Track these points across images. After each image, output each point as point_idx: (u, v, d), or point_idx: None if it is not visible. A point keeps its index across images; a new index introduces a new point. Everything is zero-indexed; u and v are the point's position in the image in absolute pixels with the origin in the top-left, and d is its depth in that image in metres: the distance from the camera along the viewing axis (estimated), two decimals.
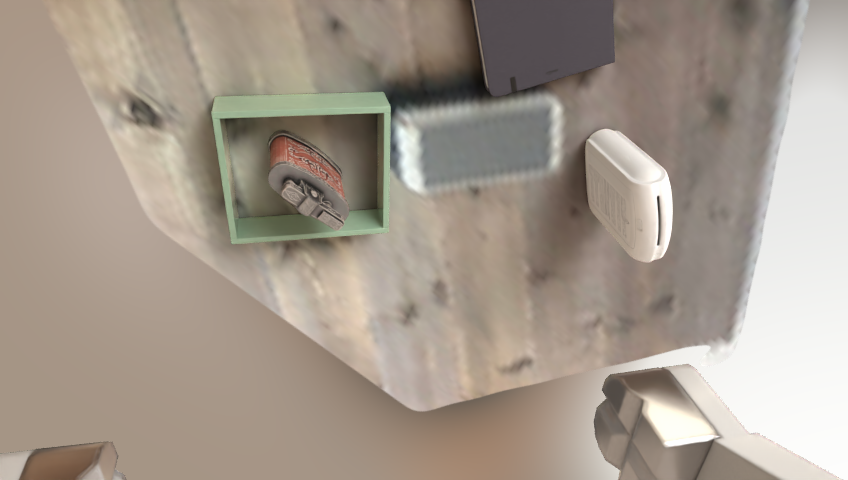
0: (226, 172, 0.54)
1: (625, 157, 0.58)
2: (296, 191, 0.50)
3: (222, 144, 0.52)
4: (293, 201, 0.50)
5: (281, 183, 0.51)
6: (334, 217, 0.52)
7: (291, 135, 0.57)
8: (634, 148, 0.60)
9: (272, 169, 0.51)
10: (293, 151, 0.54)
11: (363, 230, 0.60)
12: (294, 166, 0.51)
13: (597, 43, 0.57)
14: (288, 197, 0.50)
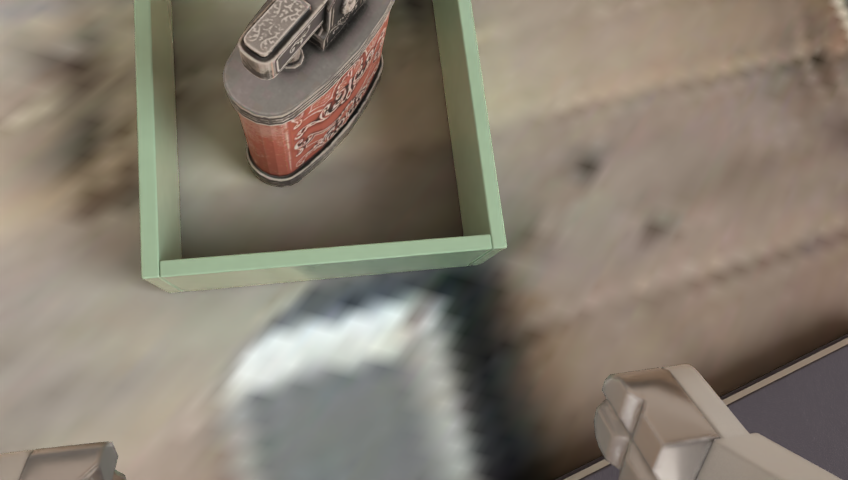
0: None
1: None
2: None
3: None
4: None
5: None
6: (287, 35, 0.17)
7: (377, 81, 0.28)
8: None
9: None
10: (379, 46, 0.24)
11: (154, 204, 0.21)
12: None
13: None
14: None
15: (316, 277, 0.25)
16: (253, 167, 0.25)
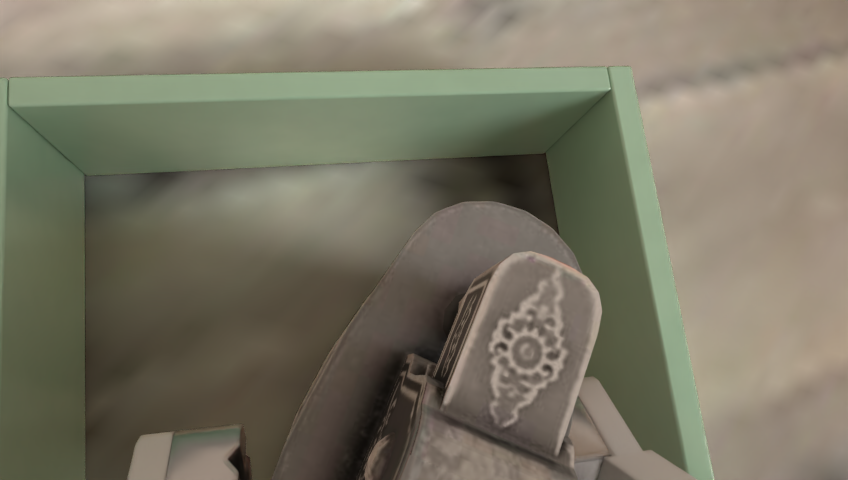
0: (387, 93, 0.12)
1: None
2: (579, 365, 0.06)
3: (510, 90, 0.13)
4: (478, 363, 0.06)
5: (457, 285, 0.08)
6: None
7: None
8: None
9: (528, 217, 0.08)
10: None
11: None
12: None
13: None
14: (501, 312, 0.06)
15: None
16: None
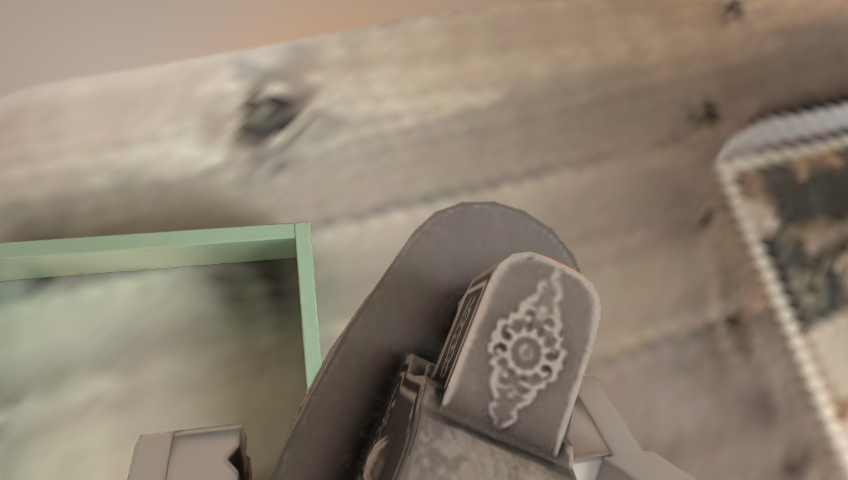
0: (155, 245, 0.22)
1: None
2: (578, 366, 0.06)
3: (231, 240, 0.23)
4: (477, 364, 0.06)
5: (456, 286, 0.08)
6: None
7: None
8: None
9: (527, 217, 0.08)
10: None
11: None
12: None
13: None
14: (500, 313, 0.06)
15: None
16: None
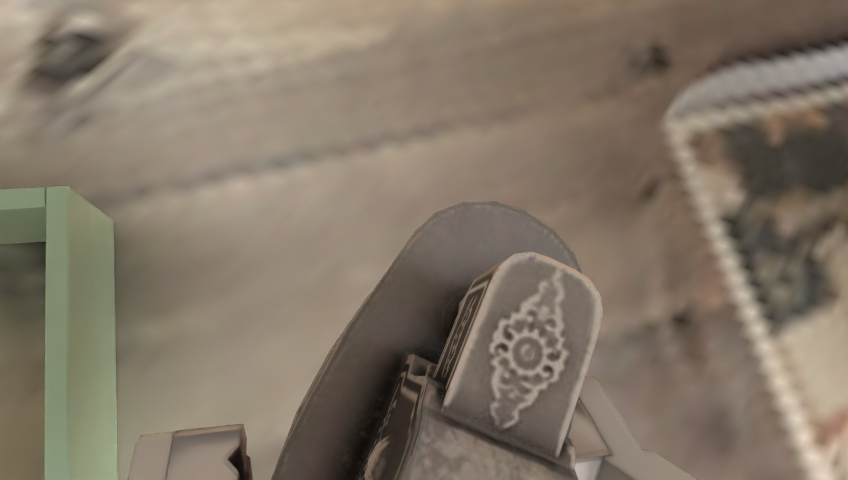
0: None
1: None
2: (580, 366, 0.06)
3: None
4: (478, 364, 0.06)
5: (457, 286, 0.08)
6: None
7: None
8: None
9: (528, 217, 0.08)
10: None
11: None
12: None
13: None
14: (501, 313, 0.06)
15: None
16: None
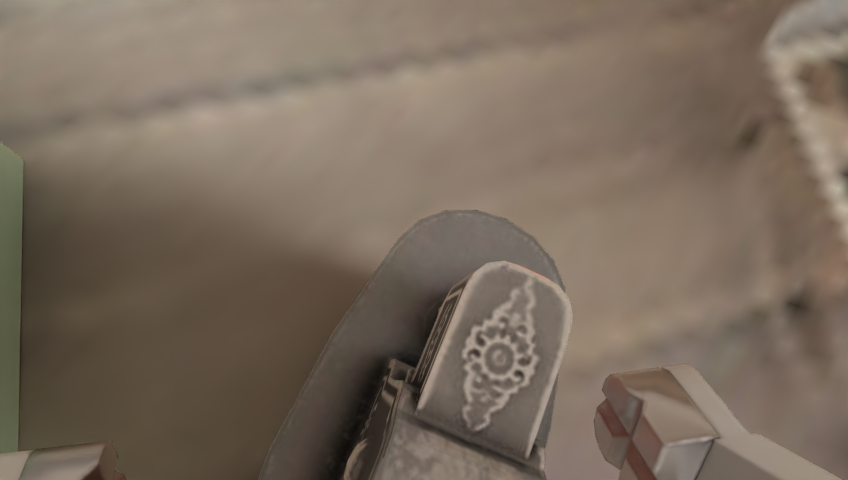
0: None
1: None
2: (550, 370, 0.06)
3: None
4: (452, 369, 0.06)
5: (439, 292, 0.08)
6: None
7: None
8: None
9: (509, 225, 0.09)
10: None
11: None
12: None
13: None
14: (475, 320, 0.06)
15: None
16: None
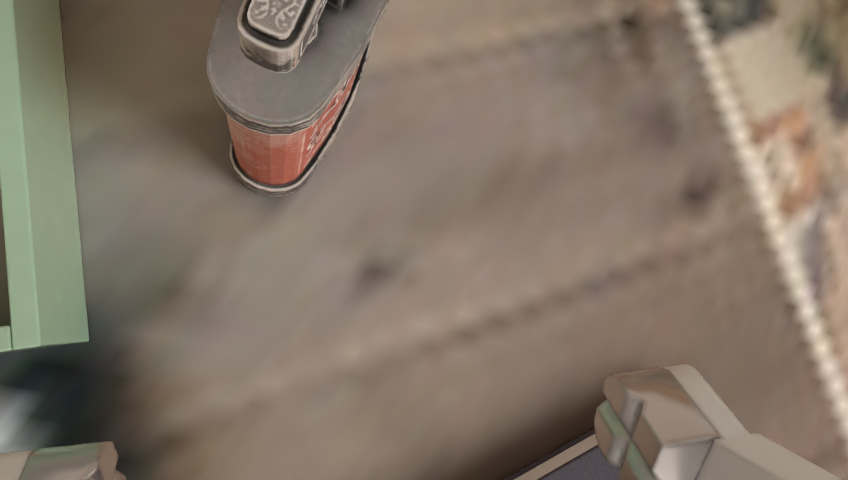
0: None
1: None
2: None
3: None
4: None
5: None
6: None
7: None
8: None
9: None
10: None
11: None
12: None
13: None
14: None
15: None
16: (246, 180, 0.19)
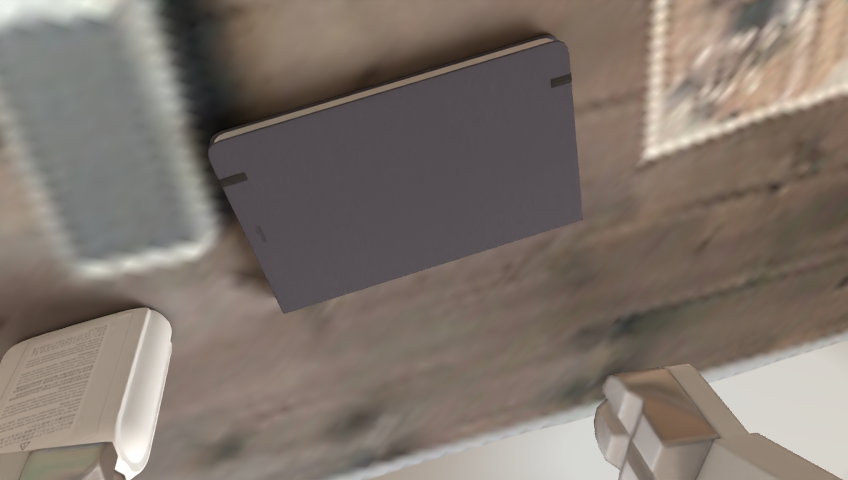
0: None
1: (146, 388, 0.34)
2: None
3: None
4: None
5: None
6: None
7: None
8: (159, 389, 0.37)
9: None
10: None
11: None
12: None
13: (308, 285, 0.39)
14: None
15: None
16: None
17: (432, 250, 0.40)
